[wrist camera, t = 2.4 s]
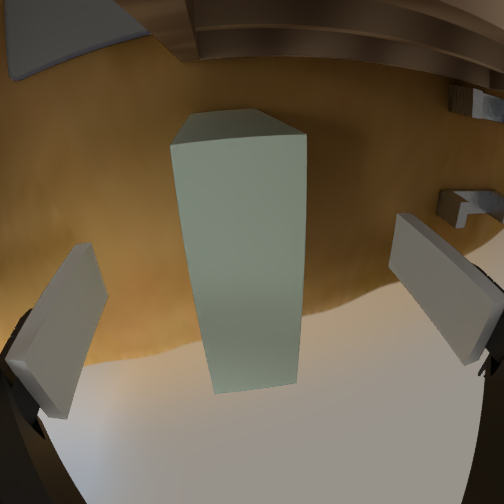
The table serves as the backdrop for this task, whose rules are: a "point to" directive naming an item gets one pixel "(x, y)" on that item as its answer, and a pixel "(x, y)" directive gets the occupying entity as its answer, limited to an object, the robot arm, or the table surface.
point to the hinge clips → (472, 201)
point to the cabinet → (337, 32)
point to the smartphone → (62, 31)
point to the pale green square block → (244, 242)
